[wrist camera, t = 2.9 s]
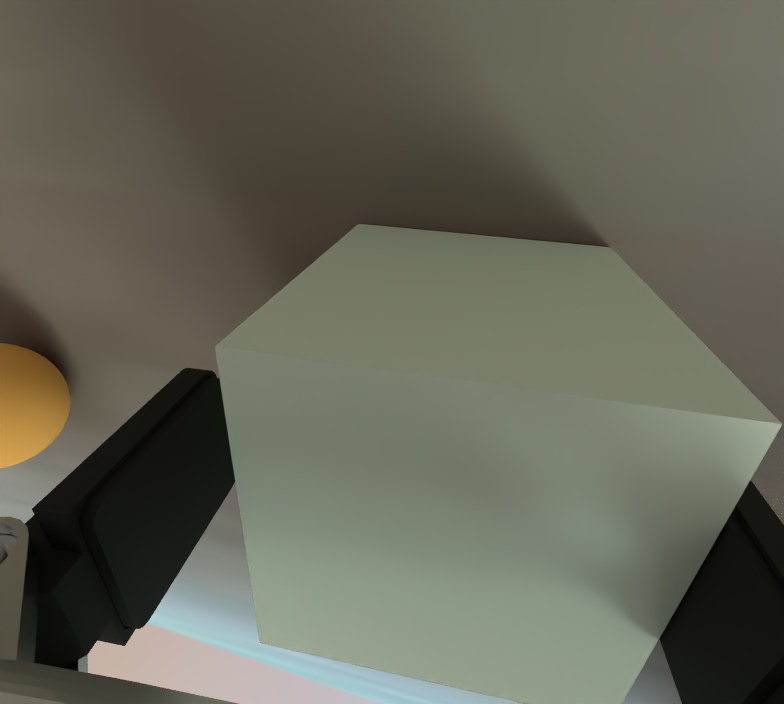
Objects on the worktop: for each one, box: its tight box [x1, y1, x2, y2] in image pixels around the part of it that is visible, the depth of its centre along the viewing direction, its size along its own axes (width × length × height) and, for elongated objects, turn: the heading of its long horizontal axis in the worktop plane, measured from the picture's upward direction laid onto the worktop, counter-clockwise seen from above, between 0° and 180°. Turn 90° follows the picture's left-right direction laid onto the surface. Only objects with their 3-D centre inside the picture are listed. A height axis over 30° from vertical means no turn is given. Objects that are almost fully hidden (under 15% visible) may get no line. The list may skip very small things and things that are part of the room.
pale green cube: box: [215, 224, 782, 704], centre depth 12 cm, size 8×8×9 cm
